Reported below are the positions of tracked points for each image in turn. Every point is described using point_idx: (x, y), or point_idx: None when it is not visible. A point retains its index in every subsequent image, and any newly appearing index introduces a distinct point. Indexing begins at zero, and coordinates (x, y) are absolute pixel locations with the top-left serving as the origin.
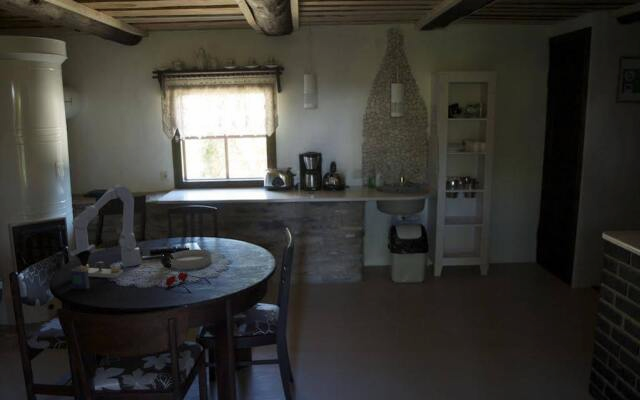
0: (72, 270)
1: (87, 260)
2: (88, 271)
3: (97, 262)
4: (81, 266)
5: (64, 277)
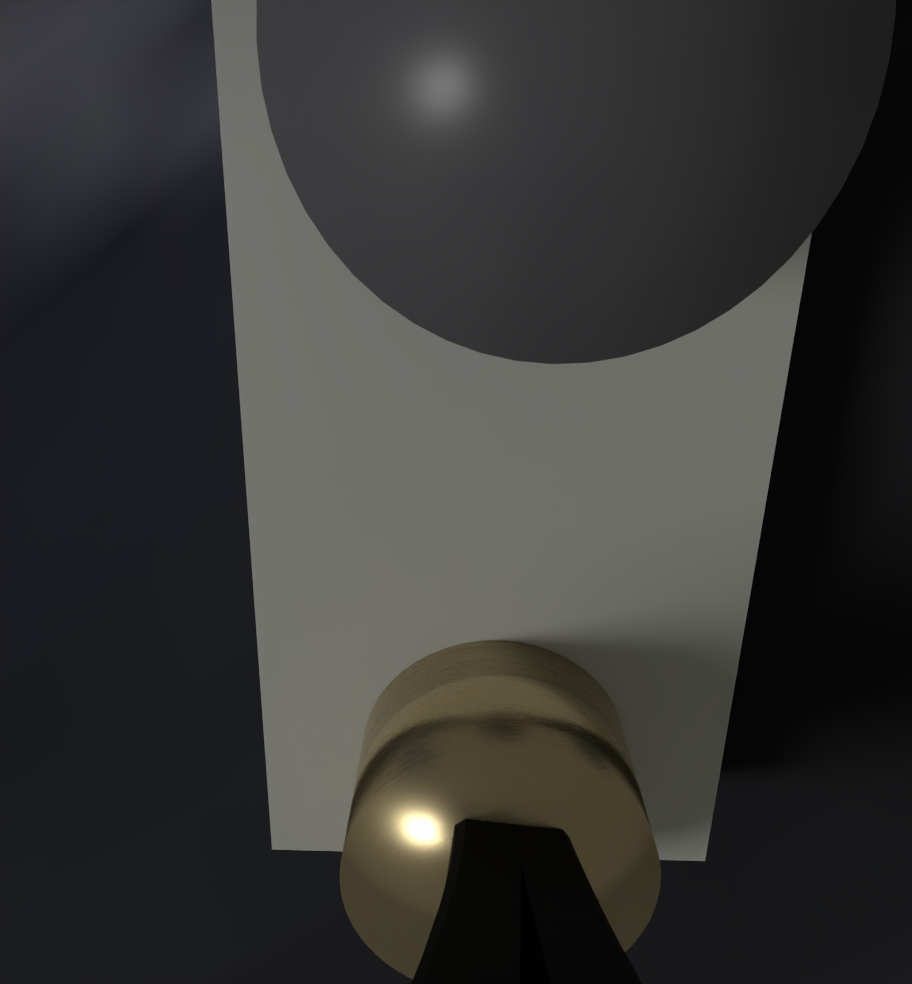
0: None
1: (456, 976)
2: (643, 548)
3: (601, 202)
4: (653, 908)
5: (831, 966)
